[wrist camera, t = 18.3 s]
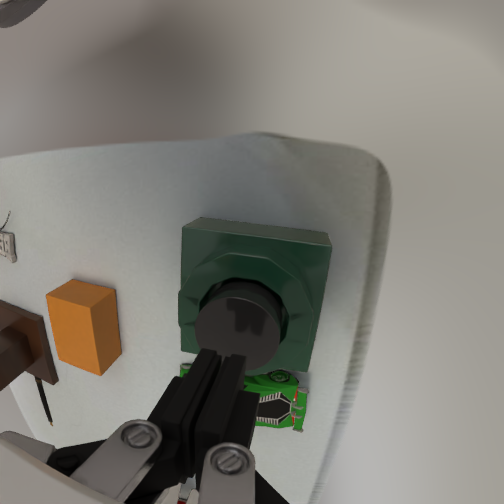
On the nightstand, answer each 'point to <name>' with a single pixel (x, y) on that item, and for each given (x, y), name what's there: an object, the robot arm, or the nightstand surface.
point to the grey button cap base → (257, 279)
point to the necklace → (7, 244)
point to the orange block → (85, 325)
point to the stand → (23, 346)
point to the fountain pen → (43, 398)
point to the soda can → (181, 501)
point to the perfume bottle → (193, 497)
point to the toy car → (274, 398)
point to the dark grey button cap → (241, 323)
